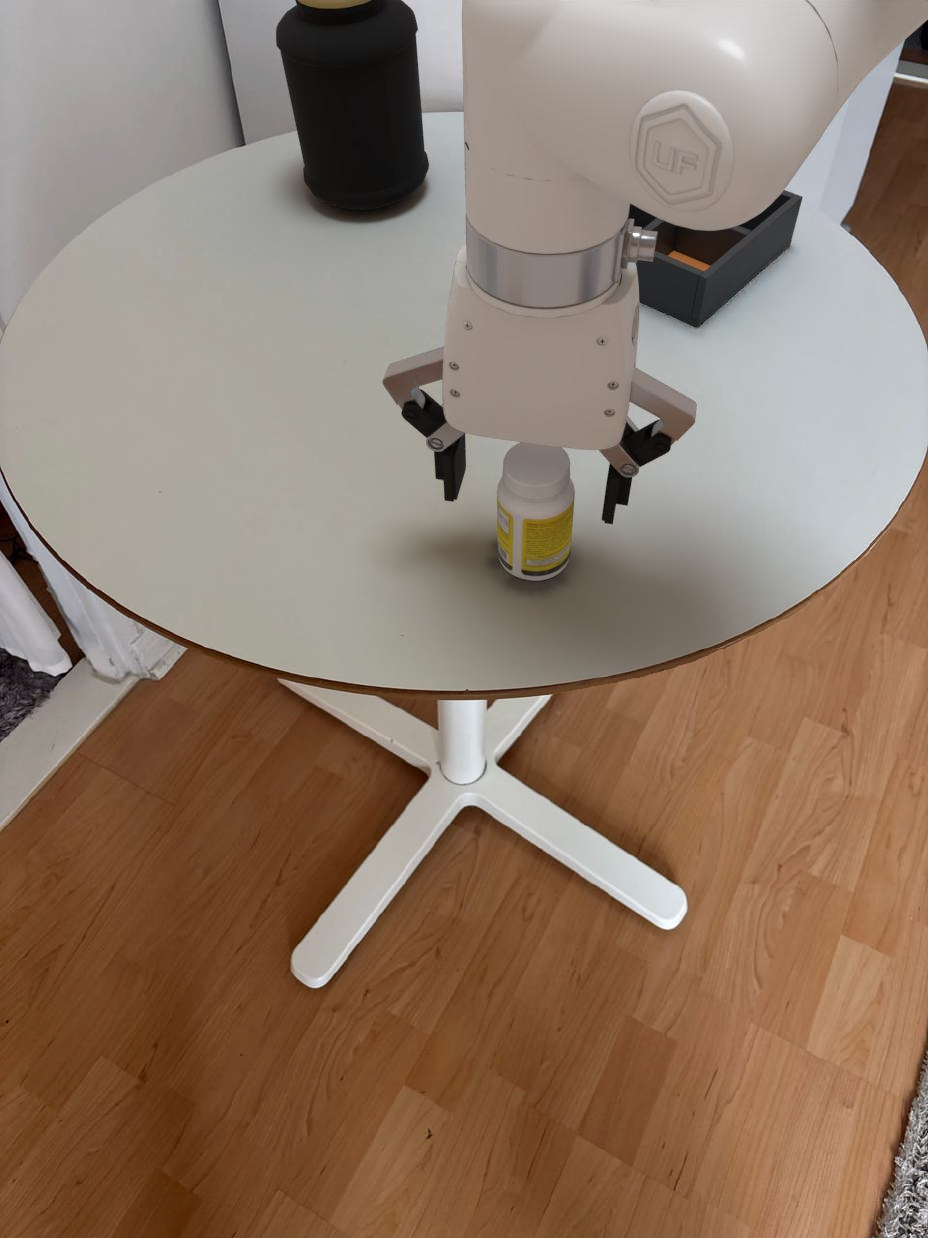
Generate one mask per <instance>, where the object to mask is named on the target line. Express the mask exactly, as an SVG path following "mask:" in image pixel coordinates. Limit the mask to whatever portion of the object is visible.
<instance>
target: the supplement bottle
mask: <svg viewBox="0 0 928 1238" xmlns="http://www.w3.org/2000/svg"><path fill="white" fill-rule="evenodd" d="M569 456H570V455H569V454H568V452H567V451H566V450H565V448H562V447H554V446H546V445H538V444H530V443H523V442H517V443H516V444H514V445H512V447H510V448H509V449H508V450H507V451H506V452H505V455H504V457H503V461H502V475H501V477H500V479H499V481H498V484H497V487H496V519H497V520H496V521H497V525H496V526H497V528H496V529H497V531H496V532H497V557H498V560H499V563H500V565H501V566H502V567H503V568H504V570H505V571H506V572H507V573H509V574H510V575H512V576H514V577H516V578H519V579H522V580H525V581H532V582H537V581H544V580H548V579H551V578H553V577H556V576H557V575H559V574H560V573H561V572H563V570H564V569H565V568H566V567H567V565H568V563H569V560H570V558H571V553H572V552H571V551H572V537H573V523H574V508H575V497H576V496H575V495H576V494H575V493H576V490H575V489H576V488H575V484H574V482H573V479H572V478H571V459H570V457H569Z"/></svg>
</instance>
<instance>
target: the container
mask: <svg viewBox="0 0 928 1238" xmlns="http://www.w3.org/2000/svg"><path fill="white" fill-rule="evenodd" d="M294 1H295V3H296V5H294V6H293V7H291V8H290V9H289V10H287V11H286V12H285V13H284V15H282V17H281V19H280V20H279V21H278V23H277V25H276V28H275V44H276V47H277V49H279V51H280V56H281V60H282V61H281V62H282V66H283V70H284V75H285V80H286V85H287V90H288V95H289V100H290V104H291V108H292V109H291V110H292V113H293V119H294V123H295V127H296V131H297V132H296V133H297V137H298V143H299V146H300V151H301V156H302V162H303V169H302V173H303V182H304V184H305V185H306V187H307V188H308V189H309V191H310V192H311V193H312V194H313V196H314V197H315V198H317V199H318V200H321V201H322V202H324V203H326V204H328V205H330V206H332V207H336V208H342V209H346V210H359V211H364V210H365V211H366V210H372V209H381V208H384V207H387V206H391V205H394V204H396V203H398V202H400V201H402V200H404V199H405V198H407V197H409V196H411V195H412V194H413V193H414V192H415V191H416V190H418V188H420V187H421V185H422V184H423V183H424V181H425V178H426V177H427V174H428V171H429V169H430V162H429V157H428V154H427V152H426V151H425V150H426V149H425V138H424V124H423V109H422V97H421V85H420V72H419V71H420V69H419V56H418V44H417V32H418V30H419V27H418V23H417V19H416V14H415V12H414V10H413V9H412V8H411V7H410V6H409V5H408V3H405V1H403V0H294Z"/></svg>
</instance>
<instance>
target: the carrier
mask: <svg viewBox="0 0 928 1238" xmlns="http://www.w3.org/2000/svg"><path fill="white" fill-rule="evenodd" d="M803 197H804V196H802V195H800V194H795V193H794V192H791V191H788V190H785V189H784V191H783V192H782V193H781V194H780V195H779V197H778V198H777V199H776V200H775V201H774V202H773V203H772V204H771V205H770V206H769V207H768V208H766V209H765V210H764V211H763V212H762V213H760V214H759V215H757V216H756V217H754V218H752V219H750V220H749V221H747V222H745V223H743V224H740V225H738V226H735V227H732V228H728V229H723V230H715V231H705V230H694V229H690V228H685V227H681V226H677V225H674V224H671V223H669V222H666V221H664V220H662V219H659V218H657V217H655V216H653V215H651V214H649V213H647V212H645V211H643V210H641V209H639V208H638V207H636V206H634V205H632V204H631V203H630V211H629V219H634V226H635V227H642V230H645V231H655V232H657V239H656V246H655V252H654V258H653V262H651V261H641V260H637V263H636V267H637V274H638V284H639V303H642V304H644V305H646V306H648V307H651V308H653V309H655V310H657V311H660V312H662V313H664V314H666V315H668V316H671V317H673V318H675V319H678V320H680V321H682V322H685V324H688V325H691V326H693V327H694V328H699V327H700V326H701V325H702V324H703V323H705V321H706V320H708V319H709V318H710V317H711V316H712V315H714V313H716V312H717V311H718V310H719V309H720V308H721V307H722V306H724V305H725V304H726V303H728V301H730V299H731V298H733V297H734V296H735V295H736V294H738V293H739V291H741V290H742V289H743V288H744V287H745V286H747V284H749V283H750V282H751V281H752V280H753V279H754V278H755V277H757V276H758V275H759V274H760V273H761V272H762V271H763V270H764V269H766V268H767V267H768V266H769V265H770V264H771V263H773V262H774V260H775V259H777V258H778V257H779V256H780V255H781V254H782V253H783V252H785V251H786V250H787V249H788V248H789V247H790V246H791V244H792V240H793V236H794V232H795V228H796V225H797V220H798V217H799V213H800V209H801V205H802V201H803Z"/></svg>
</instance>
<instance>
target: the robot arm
mask: <svg viewBox="0 0 928 1238" xmlns="http://www.w3.org/2000/svg"><path fill="white" fill-rule="evenodd" d="M927 21H928V0H461V46H462V48H461V50H462V99H463V100H462V101H463V102H462V103H463V108H462V109H463V149H464V150H463V151H464V152H463V153H464V155H463V156H464V190H465V193H464V194H465V197H464V198H465V243H463V245H462V246H461V247H460V248H459V250H458V252H457V254H456V258H455V261H454V265H453V266H454V267H453V271H452V277H451V281H450V288H449V292H448V293H449V294H448V301H447V309H446V316H445V318H446V319H445V327H444V328H445V329H444V343H443V346H441V347H438V348H435V349H432V350H428V351H425V352H422V353H420V354H416V355H413V356H410V357H406V358H404V359H400V360H398V361H397V360H396V361H394V362H391V363H390V364H388V365H387V368H386V371H385V373H384V376H383V378H382V385H383V387H384V389H385V390H386V391H387V393H388V394H389V396H390V397H391V399H392V400H393V402H394V403H395V404H396V406H399V408H400V409H401V413H400V414H401V416H402V419H404V421H406V422H407V423H408V424H410V425H411V426H412V427H413V428H414V429H415V430H417V432H419V433H420V434H421V435H422V436H423V437H425V438H426V440H425V445H426V447H427V448H428V449H429V450H430V451H432V452H433V459H434V474H435V475H434V476H435V480H438V481H439V480H440V481H443V497H444V502H454V501H457V500H458V497H459V494H460V490H461V487H462V484H463V480H464V478H465V473H466V469H467V449H466V447H467V445H466V434H467V435H470V436H476V437H480V438H481V437H482V438H488V439H496V440H500V441H501V440H502V441H508V442H516V443H520V442H523V443H530V444H538V445H546V446H554V447H562V448H563V449H572V450H574V449H575V450H580V451H582V450H583V451H599V453H600V454H601V455H602V456H603V458H605V459H606V461H608V463H609V466H608V471H607V477H606V484H605V491H604V500H603V505H602V514H601V521H602V522H603V523H604V524H607V525H614V519H615V513H616V508H617V505H621V506H629V500H630V494H631V489H632V484H633V478H634V477H636V476H637V475H638V474H639V472H640V468H642V467H644V466H645V465H647V464H649V463H651V462H653V461H656V459H657V460H658V459H659V458H661V457H662V456H665V455H667V454H668V453H669V452H670V451H671V450H672V449H671V448H672V446H673V444H675V443H676V442H677V441H679V440H680V439H681V438H682V437H683V436H684V435H685V434H686V433H687V432H688V431H689V430H690V429H691V428H693V426H694V425H695V423H696V419H697V418H696V417H697V410H698V409H697V408H698V407H697V406H698V405H697V402H696V401H695V400H694V399H692V398H690V397H689V396H687V395H685V394H683V393H682V392H680V391H678V390H676V389H675V388H672V386H670V385H667V383H664V382H662V381H660V380H659V379H657V378H656V377H654V376H652V375H650V374H648V373H646V372H645V371H643V370H641V369H639V368H638V367H636V365H637V355H638V354H637V353H638V345H639V342H638V341H639V330H640V329H639V328H640V301H639V284H638V274H637V267H636V263H637V260H641V261H651V262H653V258H654V252H655V246H656V239H657V232H655V231H645V230H642V227H635V226H634V219H629V211H630V203H631V204H632V205H634V206H636V207H638V208H639V209H641V210H643V211H645V212H647V213H649V214H651V215H653V216H655V217H657V218H659V219H662V220H664V221H666V222H669V223H671V224H674V225H677V226H681V227H685V228H690V229H694V230H705V231H715V230H723V229H728V228H732V227H735V226H738V225H740V224H743V223H745V222H747V221H749V220H750V219H752V218H754V217H756V216H757V215H759V214H760V213H762V212H763V211H764V210H765V209H766V208H768V207H769V206H770V205H771V204H772V203H773V202H774V201H775V200H776V199H777V198H778V197H779V195H780V194H781V193H782V192H783V191H784V190H785V189H786V188H787V187H788V186H789V184H790V183H791V181H792V180H793V178H794V177H795V176H796V174H797V172H798V171H799V170H800V169H801V167H802V166H803V165H804V163H805V162H806V160H807V159H808V158H809V156H810V154H811V153H812V151H813V150H814V149H815V147H816V146H817V144H818V143H819V141H820V140H821V139H822V137H823V135H824V133H825V132H826V130H827V129H828V127H829V126H830V124H831V123H832V122H833V120H834V119H835V117H836V116H837V115H838V113H839V112H840V110H841V109H842V107H843V106H844V104H845V103H846V102H847V101H848V100H849V98H851V96H852V94H853V93H854V92H855V91H856V89H857V88H858V86H859V85H860V83H862V81H864V79H865V78H866V77H867V76H868V75H869V74H870V73H871V72H872V71H873V70H874V69H875V68H877V66H878V65H879V64H880V63H881V62H882V61H884V60H885V59H886V58H888V56H889V55H890V54H891V53H892V52H893V51H894V50H896V49H897V48H898V47H899V46H900V45H901V44H902V43H903V42H904V41H906V39H907V38H909V37H910V36H911V35H913V33H914V32H916V31H917V30H918V29H919V28H920V27H921V26H922V25H924V24H925V23H926V22H927ZM441 380H442V381H441ZM438 381H441V386H442V387H441V398H442V399H441V400H442V403H441V404H440V403H438V401H436V400H435V398H433V397H432V396H430V394H429V393H427V392H426V391H425V390H423V389H422V388H420V387H422V386H426V385H428V384H432V383H435V382H438ZM631 403H632V404H633V405H635V406H636V407H638V408H640V409H642V410H644V411H646V412H648V413H650V414H651V415H653V416H655V417H657V418H658V419H656V420H654V421H653V422H650V423H649V424H647V425H645V426H643V427H642V428H640V429H639V428H638V426H637V424H635V422H633V420H632V419H631V418H630V417H629V416H628V415H629V409H630V404H631Z"/></svg>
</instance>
